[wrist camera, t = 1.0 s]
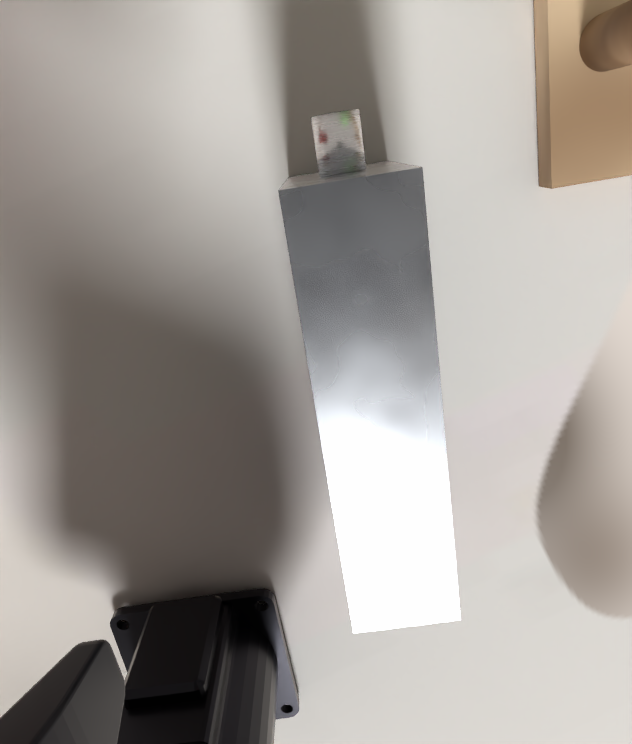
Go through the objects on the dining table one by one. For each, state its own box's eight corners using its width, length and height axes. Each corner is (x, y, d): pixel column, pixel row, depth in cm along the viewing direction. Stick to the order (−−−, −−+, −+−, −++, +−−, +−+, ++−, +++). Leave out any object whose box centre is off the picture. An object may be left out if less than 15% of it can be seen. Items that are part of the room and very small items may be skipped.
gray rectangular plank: (422, 499, 22) (461, 619, 16) (342, 509, 22) (353, 633, 16) (382, 110, 17) (415, 92, 12) (281, 127, 17) (265, 118, 12)
